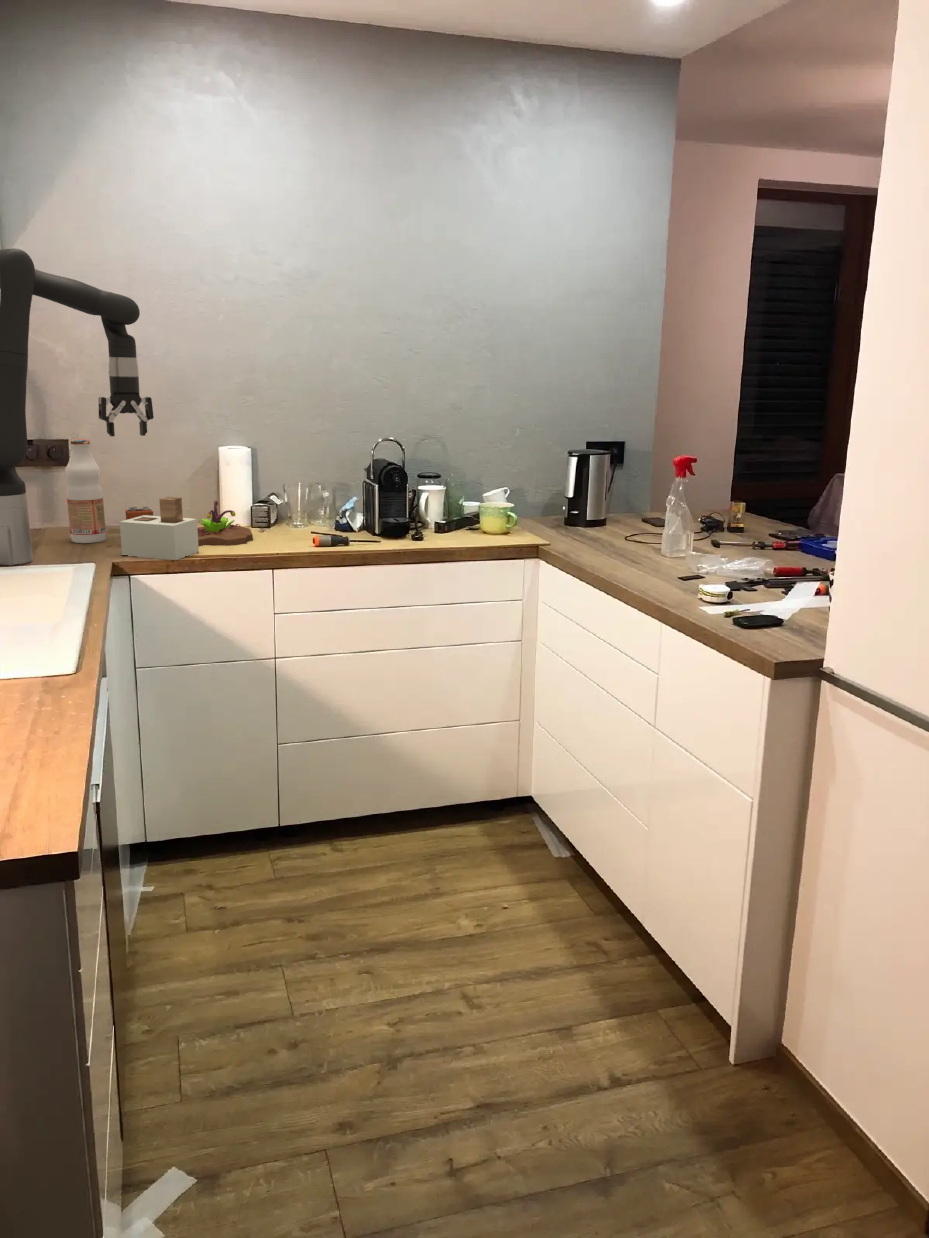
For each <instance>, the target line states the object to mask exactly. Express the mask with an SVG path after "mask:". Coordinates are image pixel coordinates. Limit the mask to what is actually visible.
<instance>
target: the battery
mask: <svg viewBox="0 0 929 1238" xmlns="http://www.w3.org/2000/svg"><path fill="white" fill-rule="evenodd" d="M143 515H148V516H154V511H153V510H152V509H151V508H149V506H142V508H138V507H137V506H129V507H128V509H125V520H128V519H132V518H136V517H140V516H143Z"/></svg>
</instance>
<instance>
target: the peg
mask: <svg viewBox="0 0 929 1238" xmlns="http://www.w3.org/2000/svg"><path fill="white" fill-rule="evenodd" d="M182 499H183V498H182V497H177V496H176V497H173V496H172V497H171V496H166V497H162V498H159V500H158V501H159V512H160V513H159V514H160V515H159V516H161V522H163V523H178V522H182V521H183V518H184V517H183V516H184V515H183V501H182Z"/></svg>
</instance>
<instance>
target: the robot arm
mask: <svg viewBox="0 0 929 1238" xmlns="http://www.w3.org/2000/svg"><path fill="white" fill-rule="evenodd" d="M33 296H35V297H39V298H43V299H46V300H48V301H52V302H54V303H57V304H60V305H63V306H65V307H67V308H71V309H73V310H76V311H79V312H80V313H81V312H82V313H84V314H88V315H91V316H98V317H100V319H101V323H102V326H103V329H104V334H105V337H106V339H107V342H108V343H107V347H108V377H109V378H108V379H109V390H110V394H109V395H110V396H109V397H105V396H99V397H98V419H99V420H102V421H105V422H106V433H107V435H108V436H109V437H115V435H116V434H115V423H114V420H115V418H116V417H117V416H119V414H134V415H135V416H136V417H137V418H138V420H139V423H138V424H139V435H140V436H142V437H143V436H144V437H145V436H146V434H147V433H148V421H150V420H153V419H154V418H155V417H154V410H153V399H152V398H151V397H150V396H144V397H141V396H140V379H139V366H138V364H139V363H138V359H137V344H136V339H135V338H134V336H132V335H130V334H129V333H128V332H127V331H128V330H127V326H130V325H132V324H133V325H134V324H135V323H136V322H137V321H138V320H139V317H140V315H141V312H140V311H141V310H140V308H139V306H138V303H137V302H136V301H134V300H133V299H132V298H131V297H129V296H125V295H123V294H120V293H119V294H118V293H115V292H112V291H111V292H110V291H107V290H102V289H100V288H98V287H96V286H93V285H90V284H87V283H85V282H82V281H80V280H76V279H73V278H70V277H66V276H61V275H57V274H52V273H49V272H44V271H42V270H39V269H37V268H35V264H34V261H33V259H32V257H31V255H29V254H28V253H27V252H26V251H25V250H23V249H21V248H3V249H2V248H1V249H0V565H3V566H4V565H5V566H14V565H21V564H26V563H29V562H30V563H31V562H32V561H34V558H33V557H34V555H33V546H32V537H31V536H32V535H31V528H30V518H29V511H28V498H27V487H26V484H25V481H24V480H23V479H22V478H21V477H20V476H19V474H18V473H17V470H16V467H18V466H20V465H21V464H22V463H23V461H24V460H25V459H26V456H27V453H28V433H27V432H28V431H27V419H26V418H27V417H26V413H27V412H26V407H27V405H26V403H27V380H28V378H27V377H28V365H29V364H28V363H29V337H30V336H29V334H30V317H31V307H32V301H33ZM109 403H110V405H111V406H112V407H111V408H110V410H109V412H108V414H107V406H108V405H109ZM141 403H142V405H143V406H144V412H145V414H144V412H143V410H142V409H141V408H140V407H139V406H140V405H141Z"/></svg>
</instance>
